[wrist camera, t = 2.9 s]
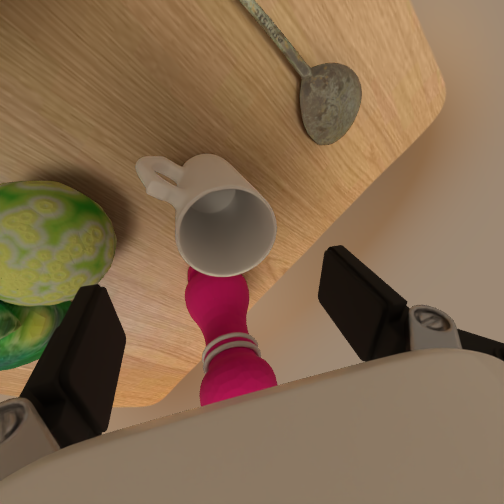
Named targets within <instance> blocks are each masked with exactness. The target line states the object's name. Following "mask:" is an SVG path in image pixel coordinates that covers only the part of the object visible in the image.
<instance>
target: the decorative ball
mask: <svg viewBox="0 0 504 504" xmlns="http://www.w3.org/2000/svg"><path fill="white" fill-rule="evenodd" d="M116 244H117V238H116V235H115V232H114V229H113V226H112V223H111V220H110V219H109V217H108V216H107V215H106V213H105V212H104V210H103V208H102V207H101V206H100V205H99V204H97V203H96V202H95V201H93V200H92V199H90V198H88V197H87V196H85V195H84V194H82V193H80V192H79V191H77V190H75V189H73V188H71V187H69V186H66V185H64V184H62V183H59V182H55V181H19V182H8V183H2V184H0V300H2V301H4V302H7V303H11V304H15V305H24V306H37V305H55V304H59V303H62V302H64V301H70V300H73V299H74V297H75V295H76V293H77V291H78V290H79V288H80V287H82V286H88V285H94V284H98V282H99V281H100V280H101V279H102V278H103V277H104V275H105V274H106V273H107V272H108V270H109V269H110V267H111V264H112V261H113V258H114V254H115V250H116Z"/></svg>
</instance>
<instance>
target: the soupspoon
mask: <svg viewBox="0 0 504 504" xmlns="http://www.w3.org/2000/svg"><path fill="white" fill-rule="evenodd" d="M239 1H240V2H241V3H242V4H243V5H244V7H245V8H246V9H247V10H248V11H249V13H250V14H251V15H252V16H253V17H254V19H255V20H256V21H257V22H258V23H259V24H260V26H261V27H262V28H263V29H264V30H265V31H266V33H267V34H268V35H269V36H270V38H271V39H272V40H273V41H274V43H275V44H276V45H277V46H278V48H279V49H280V50H281V52H282V53H283V54H284V56H285V57H286V58H287V60H288V61H289V62H290V63H291V65H292V66H293V67H294V69H295V70H296V71H297V72H298V74H299V75H300V77H301V78H302V82H301V89H300V107H301V113H302V119H303V123H304V126H305V128H306V131H307V133H308V134H309V135H310V137H311V138H312V139H313V140H314V141H315V142H316V143H317V144H319V145H329V144H332V143H334V142H336V141H337V140H339V139H340V138H341V137H342V136H344V134H345V133H346V132H347V131H348V130H349V128H350V127H351V125H352V124H353V122H354V120H355V118H356V116H357V113H358V110H359V107H360V103H361V96H362V90H361V84H360V81H359V78H358V77H357V75H356V74H355V72H354V71H353V70H352V69H350V68H349V67H347V66H345V65H342V64H338V63H325V64H321V65H318V66H315V67H312V68H310V67H309V66H308V65H307V63H306V62H305V61H304V60H303V58H302V57H301V56H300V55H299V53H298V52H297V51H296V50H295V48H294V47H293V46H292V45H291V43H290V42H289V41H288V40H287V38H286V37H285V36H284V34H283V33H282V32H281V31H280V30H279V29H278V27H277V26H276V25H275V24H274V22H272V20H271V19H270V18H269V16H268V15H267V14H266V13H265V12H264V11H263V9H262V8H261V7H260V6H259V5H258V4H257V3H256V1H255V0H239Z"/></svg>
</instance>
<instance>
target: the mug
mask: <svg viewBox="0 0 504 504" xmlns="http://www.w3.org/2000/svg"><path fill="white" fill-rule="evenodd" d="M135 168H136V172H137V174H138V176H139V178H140V180H141V181H142V183H143V184H144V186H145V188H146V193H147V194H148V195H151V196H153V197H155V198H157V199H159V200H164V201H167V202H168V203H170V204H171V205H172V206H174V208H175V209H176V218H175V240H176V245H177V248H178V250H179V253H180V254H181V256H182V258H183V259H184V260H185V261H186V262H187V264H189V265H190V266H191V267H192V268H194V269H195V270H197V271H199V272H201V273H203V274H206V275H210V276H215V277H230V276H235V275H239V274H242V273H244V272H247V271H249V270H251V269H252V268H254V267H255V266H257V265H258V264H259V263H261V262H262V261H263V260H264V259H265V258H266V256H267V255H268V254H269V252H270V250H271V249H272V247H273V244H274V242H275V238H276V232H277V224H276V218H275V215H274V212H273V210H272V208H271V206H270V205H269V203H268V202H267V201H266V200H265V199H264V198H263V196H262V195H261V194H260V193H259V192H258V191H257V190H256V189H255V188H254V187H253V186H252V185H251V184H250V183H249V182H248V181H247V180H246V179H245V178H244V177H243V176H242V175H241V174H240V173H239V172H238V171H237V170H236V169H235V168H234V167H233V166H232V165H231V164H230V163H228V162H227V161H226V160H225V159H223V158H221V157H219V156H217V155H214V154H199V155H196V156H194V157H192V158H190V159H189V160H188V161H186V162H185V164H184V165H183V166H182V167H181V166H179V165H177V164H176V163H174V162H172V161H171V160H169V159H168V158H166V157H163V156H144V157H141V158H139V159H138V161H137V162H136V165H135ZM155 172H158V173H161V174H163V175H165V176H167V177H168V178H170V179H172V180H173V181H175V182H176V184H177V187H176V186H174V185H172V184H171V183H169V182H167V181H166V180H164V179H163V178H161V177H160V176H159V175H158V174H156V173H155Z"/></svg>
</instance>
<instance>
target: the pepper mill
mask: <svg viewBox="0 0 504 504" xmlns="http://www.w3.org/2000/svg"><path fill="white" fill-rule="evenodd" d="M185 301H186V306H187V309H188V311H189V313H190V315H191V317H192V318H193V320H194V321H195V322H196V323H197V325H198V326H199V327H200V329H201V331H202V333H203V335H204V338H205V342H206V348H205V349H204V351H203V354H202V361H203V370H204V373H205V376H204V378H203V380H202V383H201V387H200V403H201V406H204V405H208V404H212V403H215V402H219V401H222V400H226V399H230V398H233V397H237V396H241V395H244V394H248V393H252V392H255V391H259V390H263V389H266V388H270V387H274V386H277V381H276V377H275V374H274V372H273V370H272V368H271V367H270V365H269V364H268V363H267V362H266V361H265V360H264V359H262V358H261V353H260V350H259V348H258V344H257V341H256V340H255V338H253V337H252V336H251V335H249V333H248V330H247V325H246V314H247V309H248V305H249V290H248V286H247V283H246V281H245V279H244V277H243V276H242V275H241V274H239V275H235V276H230V277H215V276H210V275H206V274H203V273H201V272H199V271H197V270H195V269H194V268H192V267H191V266H190V267H189V270H188V285H187V287H186V290H185Z"/></svg>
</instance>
